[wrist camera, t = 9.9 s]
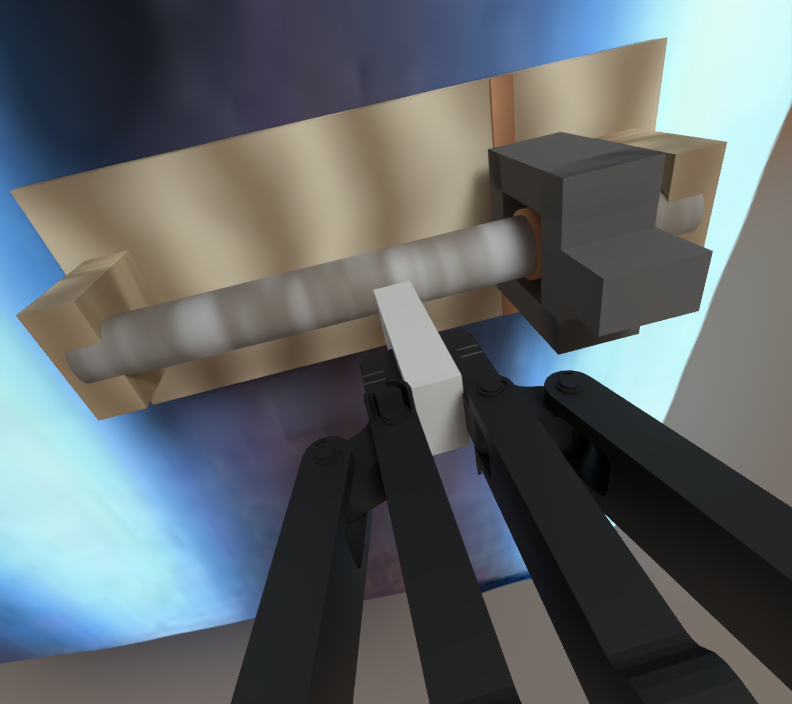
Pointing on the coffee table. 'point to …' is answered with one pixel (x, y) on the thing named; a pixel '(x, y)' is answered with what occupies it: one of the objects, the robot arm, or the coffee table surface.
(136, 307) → the pipe rig
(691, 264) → the collar
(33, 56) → the coffee table surface
